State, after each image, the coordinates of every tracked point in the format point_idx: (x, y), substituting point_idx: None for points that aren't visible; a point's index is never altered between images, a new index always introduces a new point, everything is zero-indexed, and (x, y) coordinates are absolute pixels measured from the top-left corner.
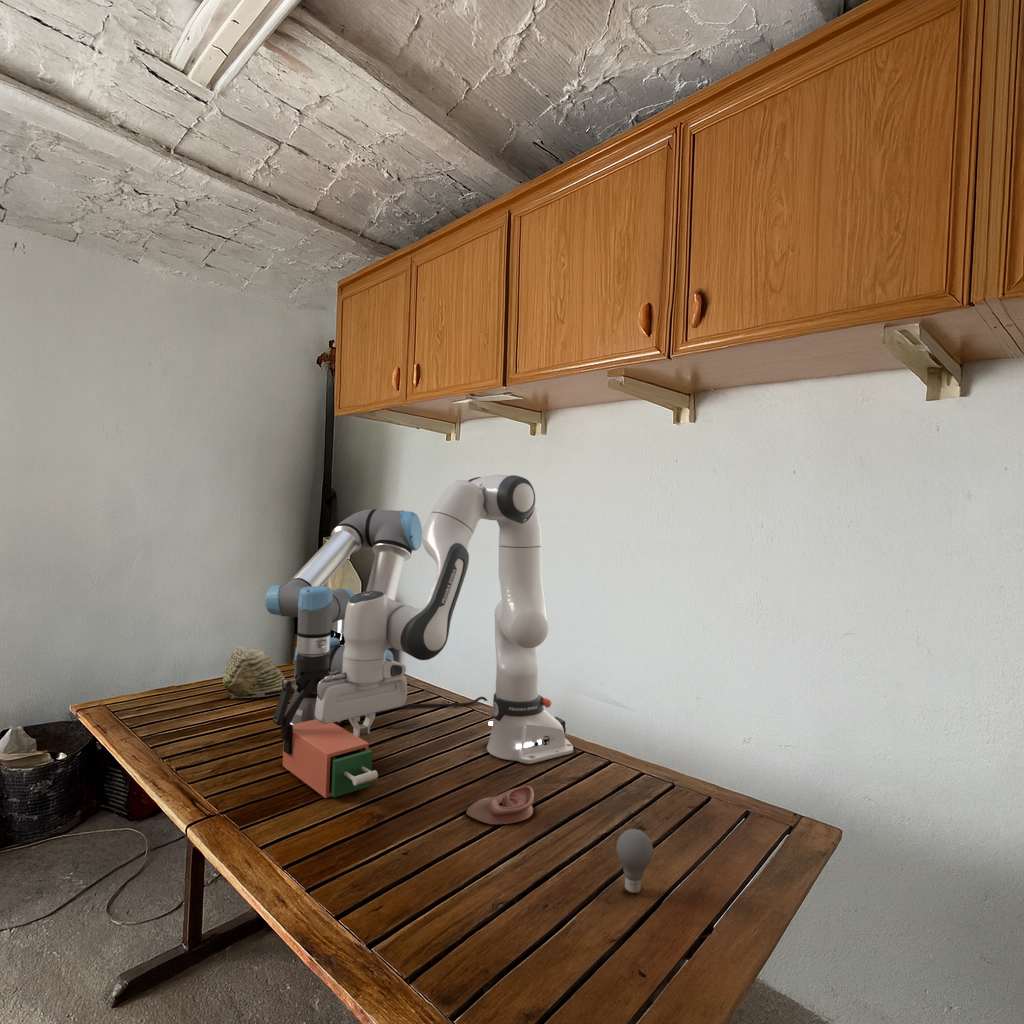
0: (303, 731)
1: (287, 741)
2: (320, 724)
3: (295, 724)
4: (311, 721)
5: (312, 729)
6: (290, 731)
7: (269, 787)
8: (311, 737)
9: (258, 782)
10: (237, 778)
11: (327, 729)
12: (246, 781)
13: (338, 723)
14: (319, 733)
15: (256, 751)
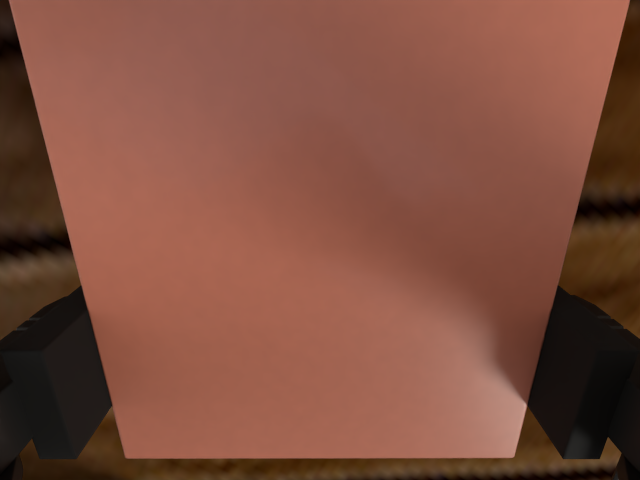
0: (467, 256)
1: None
2: (224, 329)
3: (417, 445)
4: (264, 434)
5: (360, 254)
6: (584, 314)
7: (606, 103)
8: (521, 8)
9: (601, 192)
10: (631, 286)
11: (219, 151)
12: (628, 236)
13: (34, 314)
14: (365, 80)
15: (422, 461)
